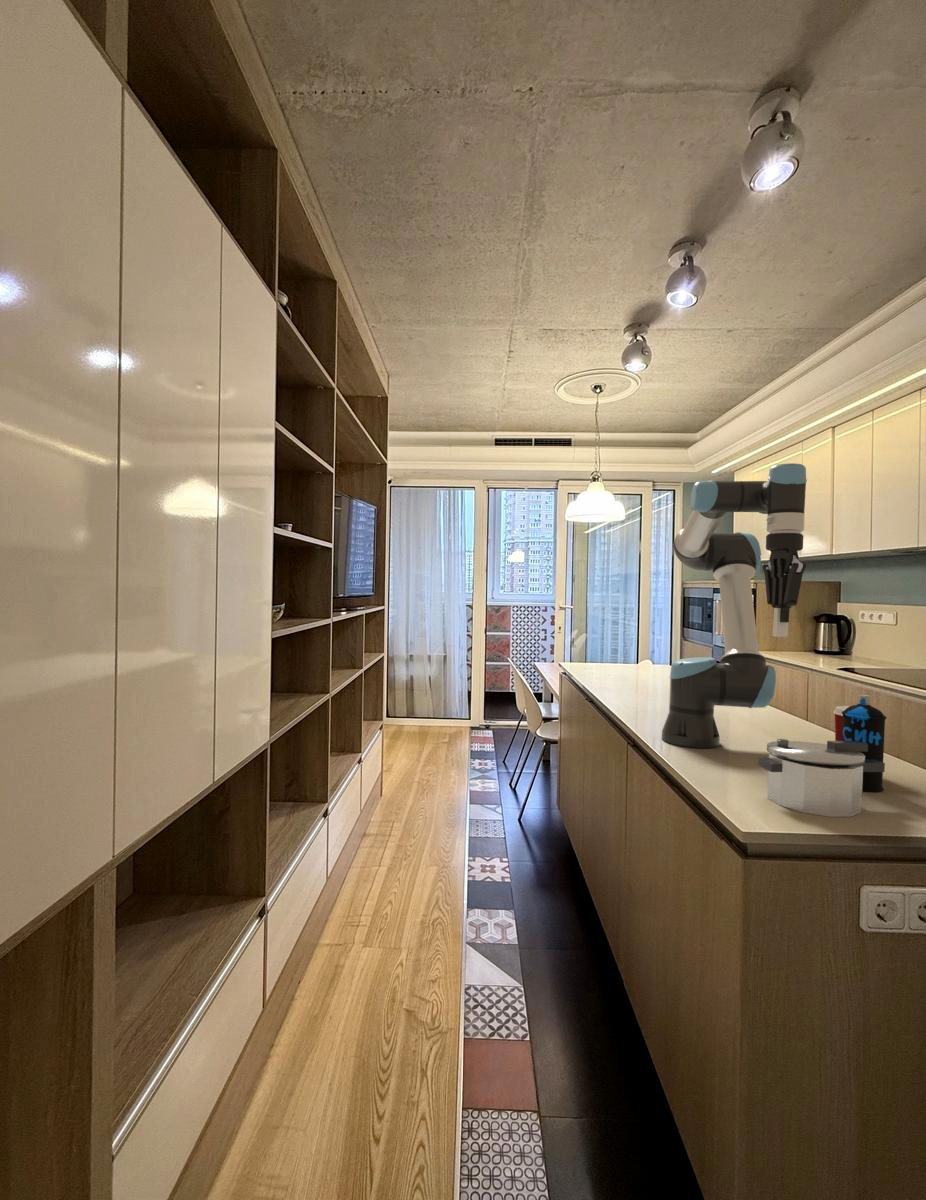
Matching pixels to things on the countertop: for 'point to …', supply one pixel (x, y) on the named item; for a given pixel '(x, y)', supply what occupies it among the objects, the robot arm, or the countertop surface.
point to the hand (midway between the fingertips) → (780, 636)
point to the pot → (817, 785)
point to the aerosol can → (866, 736)
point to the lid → (820, 751)
